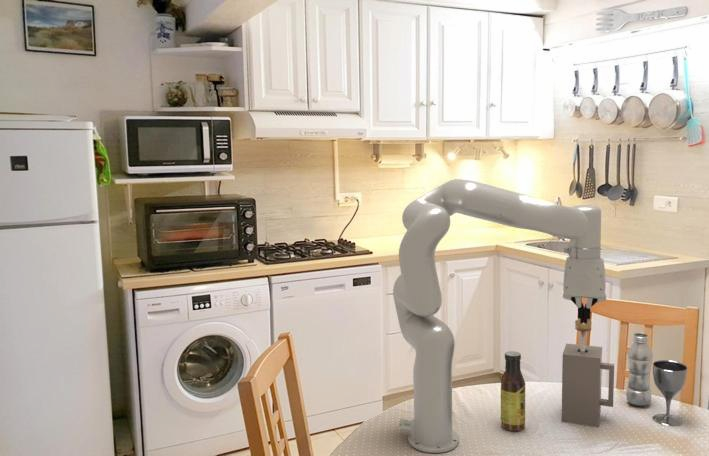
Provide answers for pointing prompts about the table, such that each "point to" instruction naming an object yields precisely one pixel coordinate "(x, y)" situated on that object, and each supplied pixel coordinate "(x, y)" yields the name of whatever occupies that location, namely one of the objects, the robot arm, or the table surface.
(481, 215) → the robot arm
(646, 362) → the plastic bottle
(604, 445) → the table surface
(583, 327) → the plunger
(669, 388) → the wine glass
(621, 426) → the table surface
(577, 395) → the press pot
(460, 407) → the table surface
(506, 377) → the sauce bottle
